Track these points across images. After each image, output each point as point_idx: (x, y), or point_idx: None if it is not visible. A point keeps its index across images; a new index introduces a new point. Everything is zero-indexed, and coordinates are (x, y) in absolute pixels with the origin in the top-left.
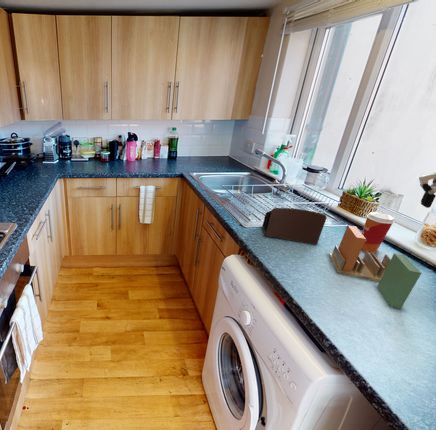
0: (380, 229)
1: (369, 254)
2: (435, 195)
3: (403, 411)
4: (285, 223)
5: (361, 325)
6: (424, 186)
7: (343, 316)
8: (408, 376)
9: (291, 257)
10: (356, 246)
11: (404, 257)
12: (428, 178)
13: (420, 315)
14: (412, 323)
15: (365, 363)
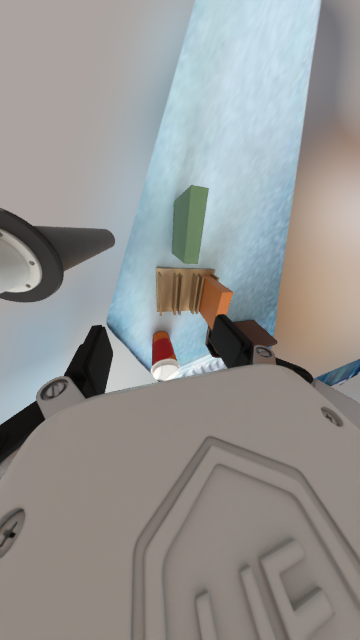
0: (165, 352)
1: (180, 306)
2: (241, 344)
3: None
4: (251, 333)
5: (246, 123)
6: (303, 369)
7: (258, 145)
8: None
9: (247, 285)
10: (222, 286)
11: (189, 252)
12: (346, 415)
13: (154, 193)
14: (173, 161)
15: None
